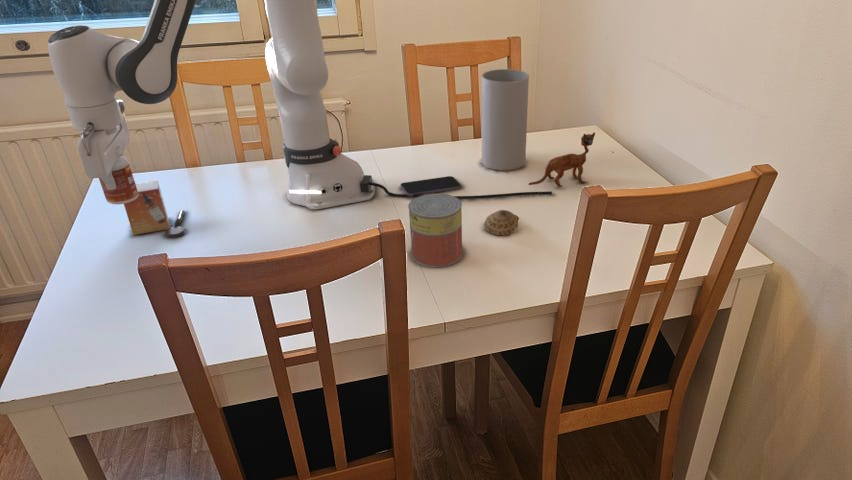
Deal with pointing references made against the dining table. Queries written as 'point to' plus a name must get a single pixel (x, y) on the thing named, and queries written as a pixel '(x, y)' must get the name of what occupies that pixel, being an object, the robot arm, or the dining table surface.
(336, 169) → the robot arm
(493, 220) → the seashell
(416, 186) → the smartphone
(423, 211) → the canned food
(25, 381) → the dining table surface
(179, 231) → the long handled flat disc
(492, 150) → the cylinder vase
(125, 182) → the pill bottle
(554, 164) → the cat figurine
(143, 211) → the small box
